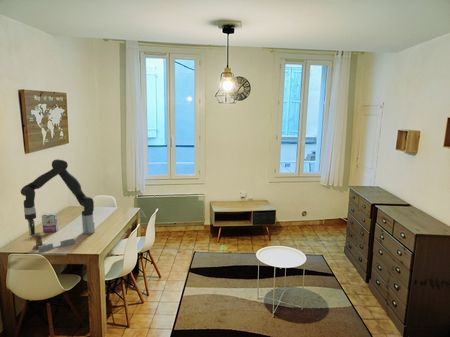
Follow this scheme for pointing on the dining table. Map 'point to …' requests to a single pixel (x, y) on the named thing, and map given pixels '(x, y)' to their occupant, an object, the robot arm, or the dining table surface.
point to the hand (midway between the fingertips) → (32, 233)
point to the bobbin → (38, 240)
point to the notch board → (50, 246)
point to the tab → (30, 232)
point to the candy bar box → (50, 222)
